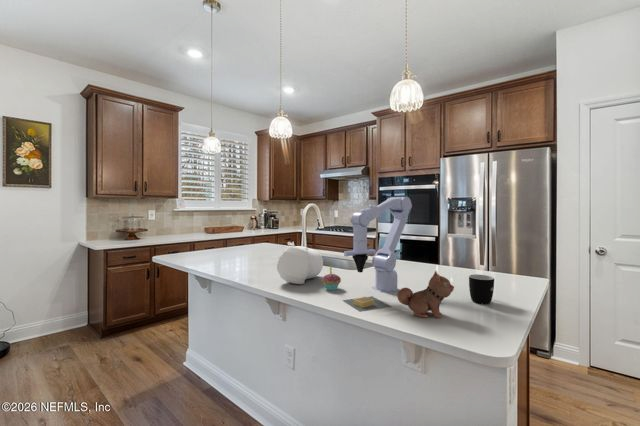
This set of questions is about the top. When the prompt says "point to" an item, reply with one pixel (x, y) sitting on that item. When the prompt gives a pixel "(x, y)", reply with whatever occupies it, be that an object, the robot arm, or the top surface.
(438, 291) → the figurine
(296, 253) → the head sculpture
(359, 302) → the card box
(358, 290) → the top surface
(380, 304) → the mat
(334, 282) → the cupcake
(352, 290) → the top surface
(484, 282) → the mug
